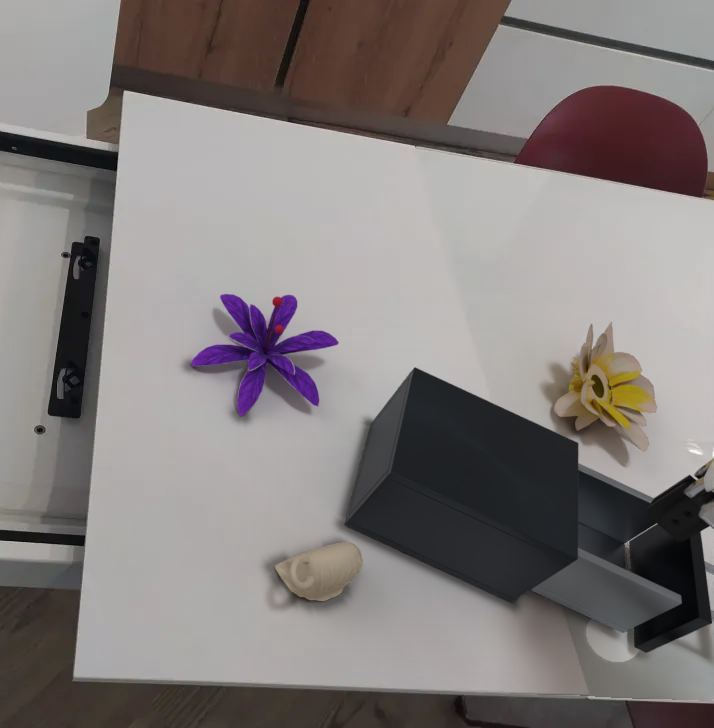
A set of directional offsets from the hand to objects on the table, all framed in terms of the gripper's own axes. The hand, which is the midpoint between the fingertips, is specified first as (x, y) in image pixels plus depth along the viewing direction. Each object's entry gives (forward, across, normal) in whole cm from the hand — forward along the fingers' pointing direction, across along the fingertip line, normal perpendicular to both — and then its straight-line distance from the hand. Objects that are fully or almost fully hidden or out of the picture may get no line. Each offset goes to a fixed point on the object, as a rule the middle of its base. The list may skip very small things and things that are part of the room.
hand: (665, 521), depth 55 cm
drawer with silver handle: (+15, +7, -3) cm, 17 cm away
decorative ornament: (+16, -16, +15) cm, 28 cm away
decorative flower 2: (+17, +27, +7) cm, 32 cm away
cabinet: (+16, 0, +12) cm, 20 cm away
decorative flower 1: (+17, -3, +34) cm, 38 cm away
